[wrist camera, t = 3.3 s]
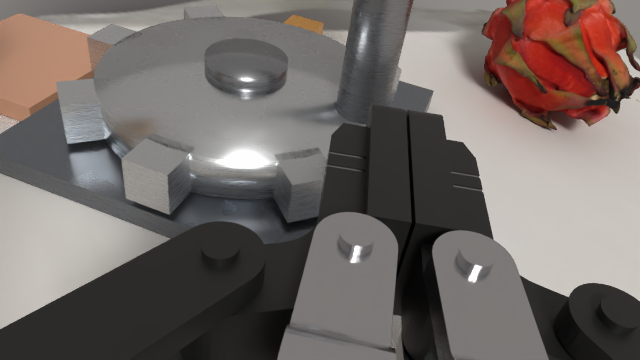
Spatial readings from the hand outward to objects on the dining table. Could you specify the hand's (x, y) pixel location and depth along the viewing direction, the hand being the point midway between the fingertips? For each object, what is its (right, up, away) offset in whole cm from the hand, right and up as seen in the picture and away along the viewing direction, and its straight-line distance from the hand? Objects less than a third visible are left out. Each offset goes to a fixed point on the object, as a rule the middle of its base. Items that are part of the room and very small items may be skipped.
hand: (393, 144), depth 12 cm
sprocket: (-6, +3, +16) cm, 18 cm away
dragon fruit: (+13, +4, +24) cm, 28 cm away
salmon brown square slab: (-18, +5, +19) cm, 27 cm away
